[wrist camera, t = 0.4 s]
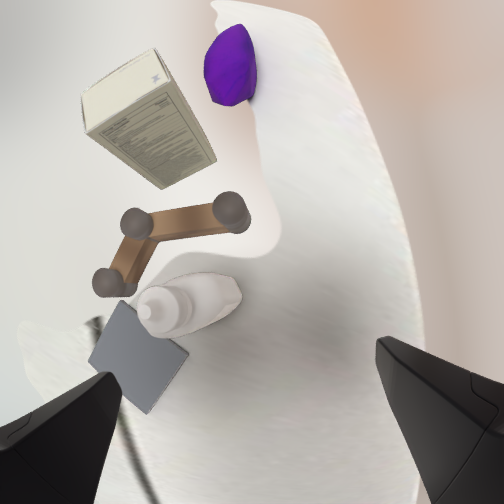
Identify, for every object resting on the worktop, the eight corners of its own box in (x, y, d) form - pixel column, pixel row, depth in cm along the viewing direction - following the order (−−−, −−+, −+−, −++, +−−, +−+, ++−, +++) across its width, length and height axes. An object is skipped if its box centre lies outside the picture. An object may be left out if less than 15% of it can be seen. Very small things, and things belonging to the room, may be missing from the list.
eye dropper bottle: (241, 329, 23) (202, 367, 11) (178, 324, 24) (96, 348, 12) (244, 277, 24) (206, 266, 12) (180, 274, 24) (98, 260, 12)
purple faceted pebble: (256, 9, 24) (250, 85, 20) (260, 38, 28) (256, 121, 25) (216, 12, 24) (193, 90, 21) (222, 41, 29) (206, 123, 25)
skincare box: (203, 129, 26) (158, 43, 14) (219, 163, 25) (175, 79, 13) (147, 158, 26) (78, 91, 14) (159, 194, 26) (83, 134, 14)
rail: (174, 339, 24) (155, 347, 20) (109, 283, 25) (84, 282, 21) (256, 215, 24) (251, 202, 20) (182, 170, 26) (166, 152, 22)
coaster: (149, 412, 23) (146, 414, 22) (90, 360, 24) (87, 361, 24) (188, 354, 23) (186, 355, 23) (123, 300, 25) (119, 300, 24)
